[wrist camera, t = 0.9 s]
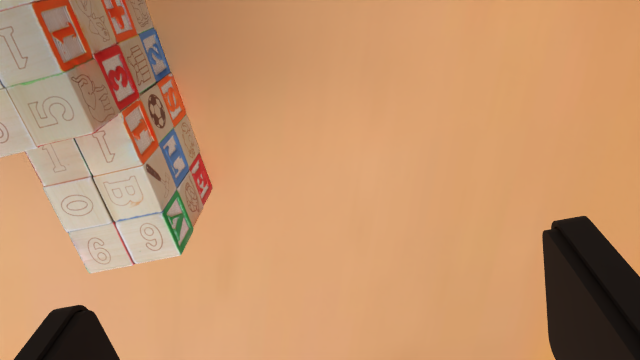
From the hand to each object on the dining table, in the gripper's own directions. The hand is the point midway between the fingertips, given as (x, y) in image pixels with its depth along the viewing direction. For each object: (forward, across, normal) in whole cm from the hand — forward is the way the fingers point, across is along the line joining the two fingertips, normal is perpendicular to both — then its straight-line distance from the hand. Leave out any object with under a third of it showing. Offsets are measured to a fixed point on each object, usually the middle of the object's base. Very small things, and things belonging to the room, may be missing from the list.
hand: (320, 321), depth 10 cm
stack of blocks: (+26, +14, -3) cm, 30 cm away
